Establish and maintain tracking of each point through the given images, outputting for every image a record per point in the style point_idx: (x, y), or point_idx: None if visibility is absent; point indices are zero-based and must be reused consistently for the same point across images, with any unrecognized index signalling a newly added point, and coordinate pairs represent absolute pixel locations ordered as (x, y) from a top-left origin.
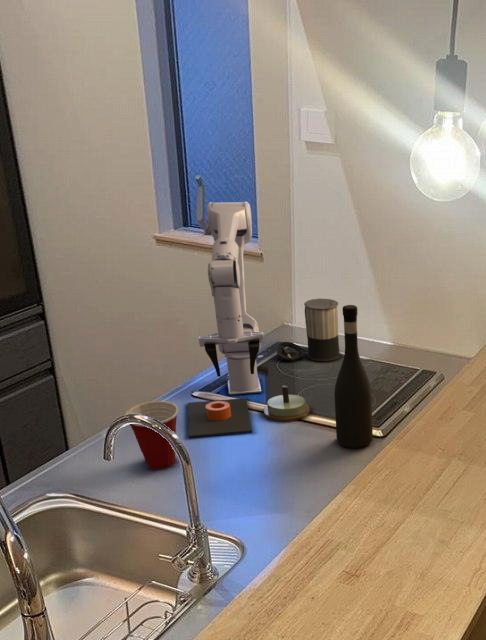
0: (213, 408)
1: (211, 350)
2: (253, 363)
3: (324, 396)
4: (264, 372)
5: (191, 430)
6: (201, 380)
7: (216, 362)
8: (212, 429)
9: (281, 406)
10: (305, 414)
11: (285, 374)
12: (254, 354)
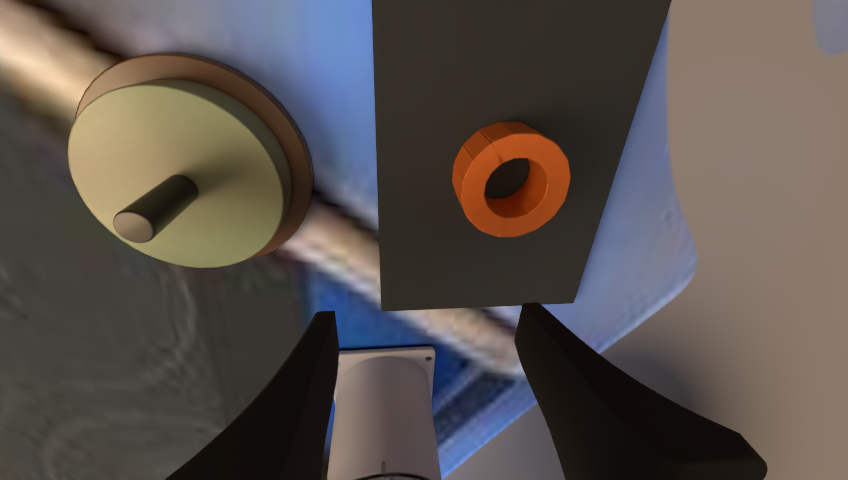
0: (541, 159)
1: (723, 463)
2: (293, 362)
3: (72, 299)
4: (324, 459)
5: (649, 32)
6: (495, 430)
7: (589, 367)
8: (560, 16)
9: (197, 129)
10: (84, 93)
11: None
12: (249, 431)
